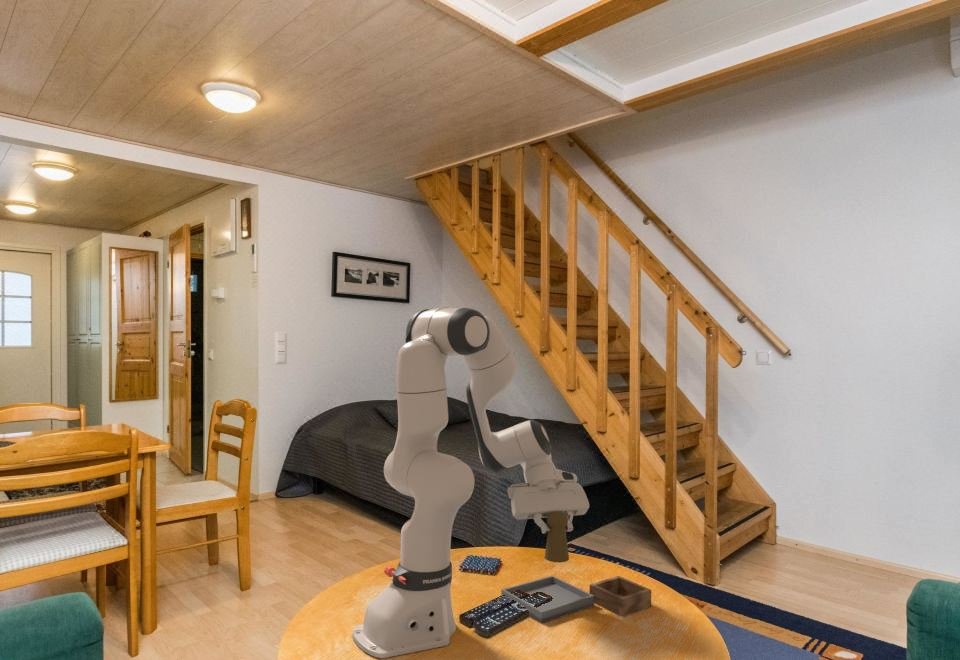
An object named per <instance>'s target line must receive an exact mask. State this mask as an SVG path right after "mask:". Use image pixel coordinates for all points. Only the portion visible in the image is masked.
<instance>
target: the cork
mask: <svg viewBox="0 0 960 660" xmlns="http://www.w3.org/2000/svg"><path fill="white" fill-rule="evenodd" d="M567 523H568V518H567V516H566V515H565V514H564V513H561V512H552V513H550V514H548V516H547V517H546V524H548V525H549V528H550V532H549V533H547V537H546V544H545V552H544V559H545V560H546V561H549V562H551V563H553V562H554V563H565V562H568V561H569V560H570V556H569V546H568V538H567V532H566V528H565V527H566V526H567Z"/></svg>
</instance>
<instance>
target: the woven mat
mask: <svg viewBox="0 0 960 660" xmlns="http://www.w3.org/2000/svg"><path fill="white" fill-rule="evenodd" d="M501 559H502V558H498V557H492V556H485V557H484V556H482V555H474V554H470V555H466V557H465V559H464V560H463V561H462V563H460V565H459V568H458V569H459V572H465V573H473V574H476V575H477V574H478V575H479V574H481V575H482V574H484V575H488V576H490V575H491V574H492V576H495V575H496V573H497V572H499V571H498V570H499V568H500V567H501V566H502V562H503V560H501Z"/></svg>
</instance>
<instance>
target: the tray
mask: <svg viewBox="0 0 960 660" xmlns="http://www.w3.org/2000/svg"><path fill="white" fill-rule="evenodd" d="M516 590H520V591H523V592H526V593H528V594H533V593H536V592H543V593H545V594H547V595H550V596H552V598H553V599H552V601H550V602H548V603H545V604H542V605H541V606H539V607H537V608H536V607H534V606H532V605H531V604H529V603H527V602H525V601H524V600H522V599H520V598H518V597H517V596H515V595H513V594H511V593H510V592H512V591H516ZM500 594H501V595H500V597H501V596H503V595H506V596H508V597H509V598H511V599H512V600H514V601H516V602H518V603H520V604H521V605H522V606H524V607H526V608H527V609H528V611H529V616H528V617H530V618H531V619H533V620H534V621H537V622H538V623H540V624H544V623H547V622H550V621H551V622H552V621H553V620H557V619H559V618H563V617H566V616H568V615H572V614H575V613H577V612H580V611H584V610H586V609H589V608H592V607H594V606H595V603H594V595H592V594H590V592H588V591H586V590H583V589H581V588H579V587H578V586H576V585H573V584H571V583H569V582H566V581H565V580H563V579H561V578H559V577H557V576H554V575H549V576H546V577H541V578H538V579H535V580H531V581H527V582H524V583H519V584H517V585H513V586H509V587H506V588H502V589H501V593H500Z"/></svg>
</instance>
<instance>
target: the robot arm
mask: <svg viewBox="0 0 960 660" xmlns="http://www.w3.org/2000/svg"><path fill="white" fill-rule="evenodd" d="M404 341H405V343H404V344H402V346H401V347H400V349H399V351H398V355H397V361H396V363H397V364H396V381H395V382H396V400H397V404H396V405H397V419H398V422H397V433H396V434H397V435H396V440H395V443H394V447H393V450H392V451H391V452H390V453H389V454H388V456H387V457H386V459H385V461H384V465H383V475H384V479H385V481H386V482H387V483H388V484H389V485H390V486H391V487H392V489H395V490H396V491H397V492H398V493H400V494H402V495H404V496H408V497H409V498H414V509H413V512H412V515H411V518H410V519H408V520H407V521H406V522H405V523H404V524H403V526H402V527H401V532H400V556H399V557H400V561H399V562H398V564H397V567H396V569H395V568H394V567H393V566H391V565H388V564H387V565H386V566H385V567H384V568H383V574H385V576H388V577H389V578H392V582H390V583H389V584H388V585H387V586H386V587H385V588H384V589H383V590H382V591H381V592H380V593H379V594H378V595H377V596H376V597H374V599H372V600H371V601H370V602H369V604H368V605H367V607H366V609H365V614H364V617H363V623H360V624H358V625H356V626H354V627H353V631H352V639H353V641H354V643H355V644H356V645H357V647H359V648H360V649H361V650H362V651H363V652H364V653H366V654H368V655H370V656H372V657H375V658H378V659H385V658H390V657H395V656H401V655H405V654H411V653H416V652H420V651H421V652H422V651H426V650H431V649H435V648H441V647H445V646H449V644H450V642H451V637H452V635H454V633H455V631H456V629H457V624H456V622H455V617H454V612H453V603H452V596H451V595H452V594H451V593H452V592H451V584H452V578H453V564H452V561H451V545H452V544H451V543H452V542H451V541H452V532H453V525H454V521H455V519H456V516H457V513H458V511H459V509H460V508H461V507H462V506H464V504H466V503H467V502H468V501H469V500H470V498H471V496H472V494H473V491H474V488H475V474H474V472H473V470H472V468H471V467H470V466H469V465H468V464H467V463H465V462H464V461H462V460H461V459H459V458H457V457H456V456H453V455H450V454H447V453H442V452H438V439H439V436H440V433H441V431H443V430H444V429H445V428H446V427H447V425H448V422H449V407H448V405H449V404H448V391H447V390H448V389H447V379H446V373H445V365H446V362H447V358H448V357H451V356H452V357H453V356H463V358H464V360H465V362H466V365H467V367H468V369H469V372H470V382H469V383H468V384H467V385H466V388H465V389H466V391H465V392H466V401H467V405H468V410H469V414H470V418H471V421H472V425H473V430H474V433H475V437H476V441H477V445H478V455H479V460H480V461H481V463H482V465H483V467H484V468H485V470H487V471H490V472H492V473H495V474H499V473H502V472H504V471H506V470H508V469H510V468H512V467H515V466H517V465H520V466H521V467H522V469H523V478H524V481H525V482H521V483H512V484H511V485H509V486H508V487H507V495H508V497H509V500H510V504H511V513H512V517H514V519H515V520H518V521H519V520H527V519H528V520H530V519H531V520H532V519H533V520H534V523H535V524H536V525H537V526H538V527H539V528H540V530H541V533H542V535H543V534H545V535H546V534H548V533H549V532H550V528H549V525H548V524H547V523H545V522H544V520H543V519H544V518H545V519H547V516H548V514H550V513H552V512H561V513H564V514H565V515H566V516H567V518H568V523H567V526H566V527H565V528H566V533H567V532H572V531H573V530H574V526H573V519H574V516H583V515H586V513H588V510H589V508H590V502H589V499H588V497H587V494H586V492H585V490H584V488H583V486H582V485H581V484H580V483H578V475H576V474H575V473H573V472H568V471H565V470H561V469H558V468H556V466H555V463H554V462H553V460H552V458H553V457H552V453H551V452H552V448H553V446H552V443H551V441H550V437H549V433H548V431H547V429H546V427H545V426H544V425H543V424H542V423H540V422H539V421H536V420H533V419H530V420H525V421H523V422H519V423H518V424H515V425H513V426H510V427H508V428H505V429H502V430H499V431H495V432H494V431H491V428H490V427H491V426H490V422H489V418H488V416H487V415H488V414H487V412H486V411H487V408H488V406H489V405H490V404H491V402H492V401H494V400H495V399H496V398H497V397H498V395H501V393H503V392H504V391H505V390H506V389H507V388H508V386H509V385H510V384H511V381H512V380H513V379H514V376H515V372H516V365H515V361H514V358H513V355H512V353H511V350H510V347H509V346H508V344H507V342H506V338H505V337H504V336H503V334H502V332H501V331H500V329H499V327H498V325H496V323H495V322H494V320H493V319H492V318H490V317H489V316H487V315H483V314H482V312H480V311H478V310H477V309H473V308H469V307H460V308H458V307H457V308H456V307H448V306H446V307H445V306H443V307H436V308H431V309H430V308H429V309H428V308H426V309H423V310H420V311H418V312H415V313H414V314H413V315H412V316H411V317H410V319H409V320H408V322H407V326H406V331H405V340H404Z"/></svg>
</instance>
